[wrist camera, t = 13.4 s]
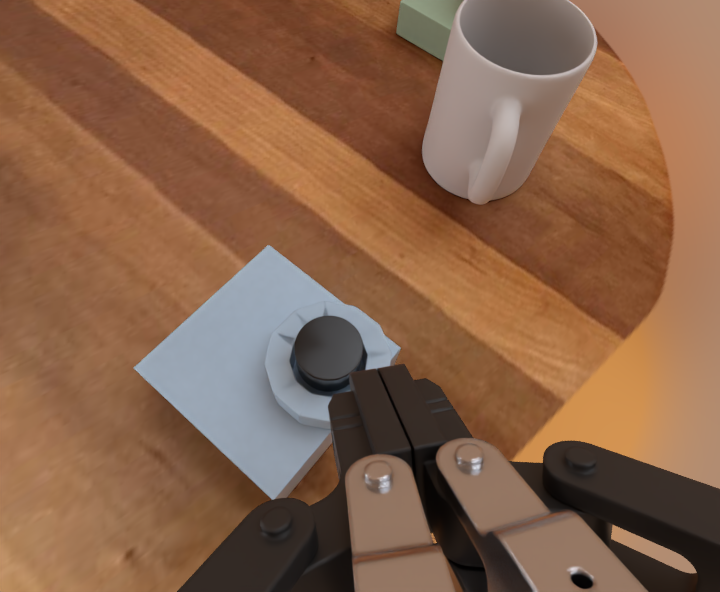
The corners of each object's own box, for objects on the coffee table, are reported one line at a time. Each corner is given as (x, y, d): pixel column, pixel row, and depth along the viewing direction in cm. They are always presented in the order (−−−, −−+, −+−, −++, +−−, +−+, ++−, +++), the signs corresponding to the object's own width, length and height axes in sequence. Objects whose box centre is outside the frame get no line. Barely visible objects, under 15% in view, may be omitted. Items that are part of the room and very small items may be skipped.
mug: (429, 108, 40) (462, -30, 30) (531, 129, 39) (599, -4, 30) (405, 227, 35) (435, 107, 25) (522, 252, 34) (601, 141, 24)
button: (373, 357, 24) (377, 343, 23) (332, 405, 23) (332, 395, 21) (325, 319, 25) (325, 302, 23) (283, 363, 24) (279, 350, 22)
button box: (403, 378, 30) (419, 345, 24) (292, 515, 26) (283, 512, 21) (275, 275, 32) (264, 225, 27) (157, 387, 29) (117, 355, 23)
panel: (564, 41, 44) (580, 8, 42) (507, 99, 41) (521, 67, 38) (457, -16, 47) (466, -51, 44) (395, 33, 44) (400, -1, 41)
